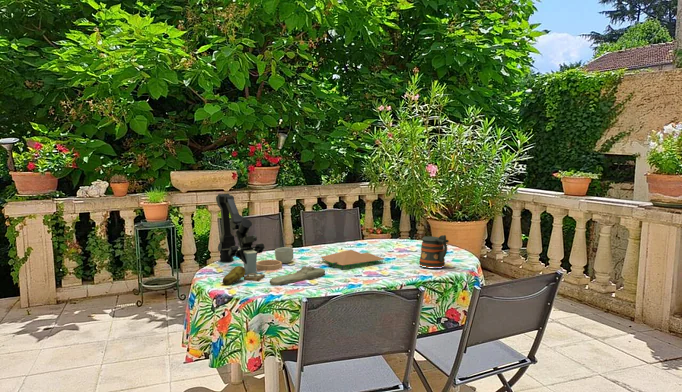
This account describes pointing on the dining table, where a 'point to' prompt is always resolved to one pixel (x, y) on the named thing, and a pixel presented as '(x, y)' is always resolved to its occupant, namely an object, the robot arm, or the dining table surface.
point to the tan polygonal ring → (271, 264)
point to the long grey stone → (298, 276)
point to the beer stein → (433, 251)
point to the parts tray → (254, 278)
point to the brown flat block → (350, 258)
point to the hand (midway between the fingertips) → (251, 263)
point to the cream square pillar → (250, 261)
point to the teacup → (284, 254)
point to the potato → (234, 275)
